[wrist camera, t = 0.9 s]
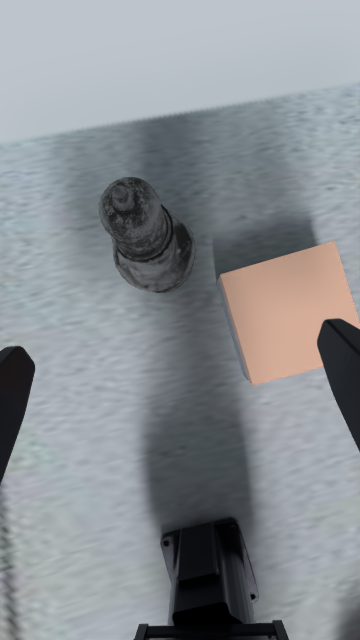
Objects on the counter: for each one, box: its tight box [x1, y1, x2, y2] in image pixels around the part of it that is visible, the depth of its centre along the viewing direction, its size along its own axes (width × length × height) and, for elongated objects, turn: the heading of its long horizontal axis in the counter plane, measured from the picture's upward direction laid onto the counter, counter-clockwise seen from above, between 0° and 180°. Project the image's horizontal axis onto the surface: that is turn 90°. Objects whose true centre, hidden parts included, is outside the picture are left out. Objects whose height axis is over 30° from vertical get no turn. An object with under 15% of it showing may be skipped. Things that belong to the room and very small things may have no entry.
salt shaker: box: [99, 177, 195, 293], centre depth 16 cm, size 6×6×12 cm
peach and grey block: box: [217, 241, 360, 385], centre depth 20 cm, size 8×8×4 cm
